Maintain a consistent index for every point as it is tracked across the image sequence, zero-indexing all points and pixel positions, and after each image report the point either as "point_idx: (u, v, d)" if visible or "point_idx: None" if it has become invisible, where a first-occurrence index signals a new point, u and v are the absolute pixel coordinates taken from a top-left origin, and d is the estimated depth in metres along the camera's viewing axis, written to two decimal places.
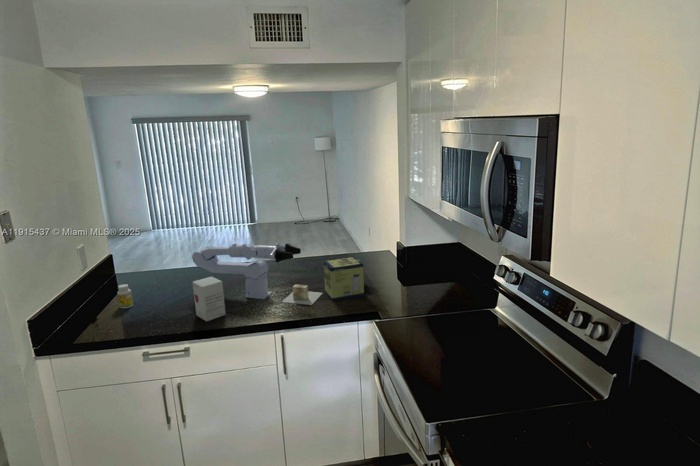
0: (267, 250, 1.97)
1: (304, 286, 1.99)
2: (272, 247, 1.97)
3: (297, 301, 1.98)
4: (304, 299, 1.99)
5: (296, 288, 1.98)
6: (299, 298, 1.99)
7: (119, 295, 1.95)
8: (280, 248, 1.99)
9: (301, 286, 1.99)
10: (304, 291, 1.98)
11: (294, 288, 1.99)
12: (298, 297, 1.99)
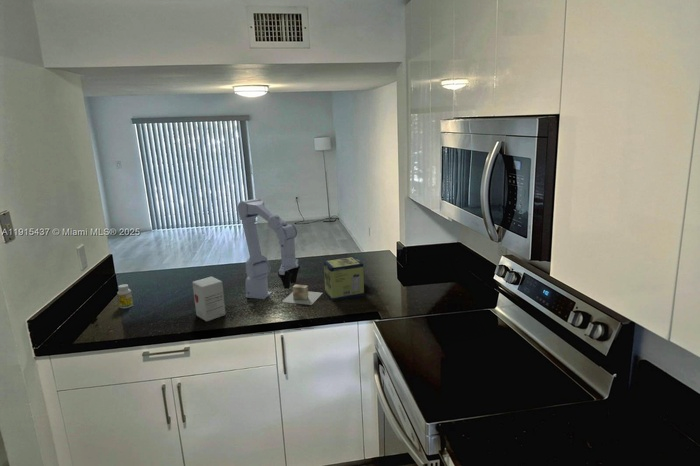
0: (289, 258, 1.83)
1: (304, 286, 1.99)
2: (293, 262, 1.85)
3: (297, 301, 1.98)
4: (304, 299, 1.99)
5: (296, 288, 1.98)
6: (299, 298, 1.99)
7: (119, 295, 1.95)
8: None
9: (301, 286, 1.99)
10: (304, 291, 1.98)
11: (294, 288, 1.99)
12: (298, 297, 1.99)
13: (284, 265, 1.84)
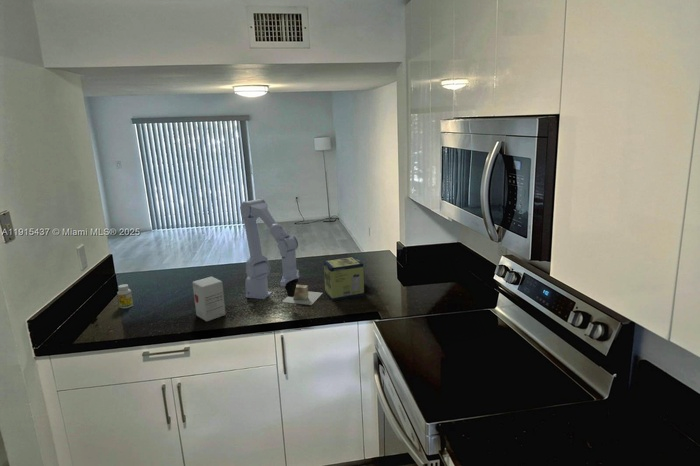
0: (290, 270, 1.85)
1: (304, 286, 1.99)
2: (294, 273, 1.86)
3: (297, 301, 1.98)
4: (304, 299, 1.99)
5: (296, 288, 1.98)
6: (299, 298, 1.99)
7: (119, 295, 1.95)
8: None
9: (301, 286, 1.99)
10: (304, 291, 1.98)
11: None
12: (298, 297, 1.99)
13: (285, 276, 1.86)
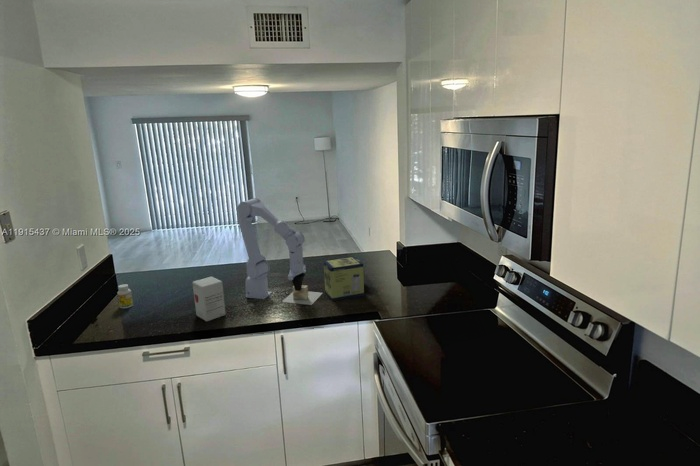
0: (297, 264, 1.91)
1: (304, 286, 1.99)
2: (301, 267, 1.93)
3: (297, 301, 1.98)
4: (304, 299, 1.99)
5: None
6: (299, 298, 1.99)
7: (119, 295, 1.95)
8: None
9: None
10: (304, 291, 1.98)
11: (294, 288, 1.99)
12: (298, 297, 1.99)
13: (292, 271, 1.93)
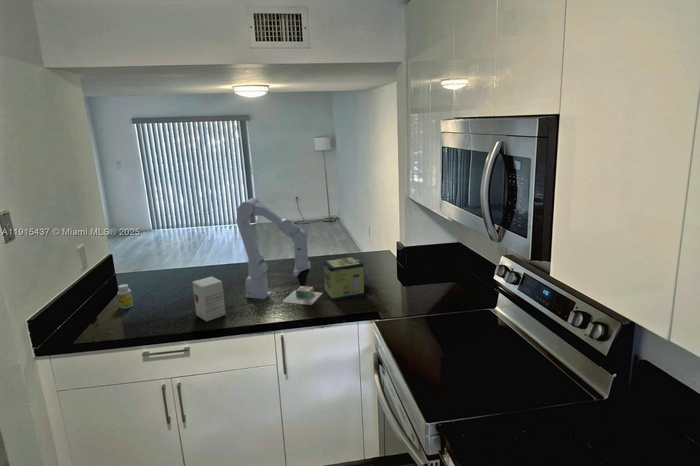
0: (302, 260, 1.96)
1: None
2: (305, 264, 1.98)
3: (297, 301, 1.98)
4: (307, 291, 2.01)
5: (304, 286, 2.07)
6: (302, 290, 2.02)
7: (119, 295, 1.95)
8: None
9: None
10: (310, 288, 2.05)
11: (302, 286, 2.07)
12: (302, 290, 2.03)
13: (297, 267, 1.97)
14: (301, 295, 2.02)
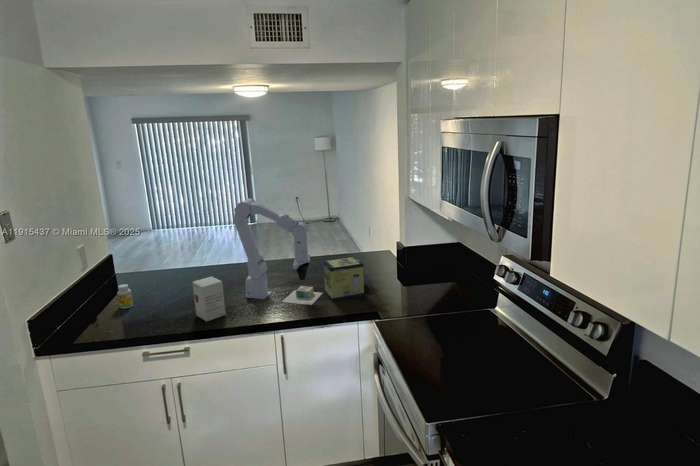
0: (301, 254, 1.96)
1: None
2: (305, 257, 1.97)
3: (297, 301, 1.98)
4: (307, 291, 2.01)
5: (304, 286, 2.07)
6: (302, 290, 2.02)
7: (119, 295, 1.95)
8: None
9: None
10: (310, 288, 2.05)
11: (302, 286, 2.07)
12: (302, 290, 2.03)
13: (297, 260, 1.97)
14: (301, 295, 2.02)
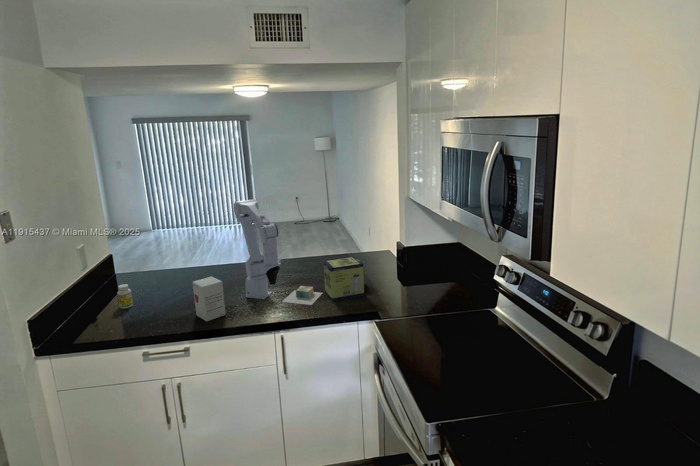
0: (271, 257, 1.86)
1: None
2: (275, 260, 1.87)
3: (297, 301, 1.98)
4: (307, 291, 2.01)
5: (304, 286, 2.07)
6: (302, 290, 2.02)
7: (119, 295, 1.95)
8: None
9: None
10: (310, 288, 2.05)
11: (302, 286, 2.07)
12: (302, 290, 2.03)
13: (266, 264, 1.87)
14: (301, 295, 2.02)
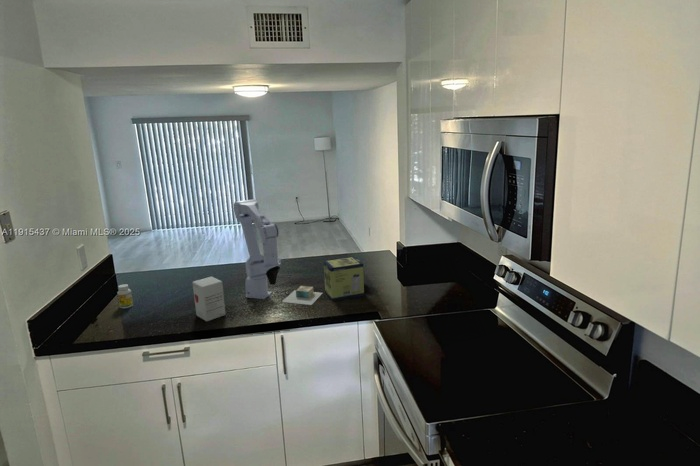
0: (271, 257, 1.86)
1: None
2: (275, 260, 1.87)
3: (297, 301, 1.98)
4: (307, 291, 2.01)
5: (304, 286, 2.07)
6: (302, 290, 2.02)
7: (119, 295, 1.95)
8: None
9: None
10: (310, 288, 2.05)
11: (302, 286, 2.07)
12: (302, 290, 2.03)
13: (266, 264, 1.87)
14: (301, 295, 2.02)
